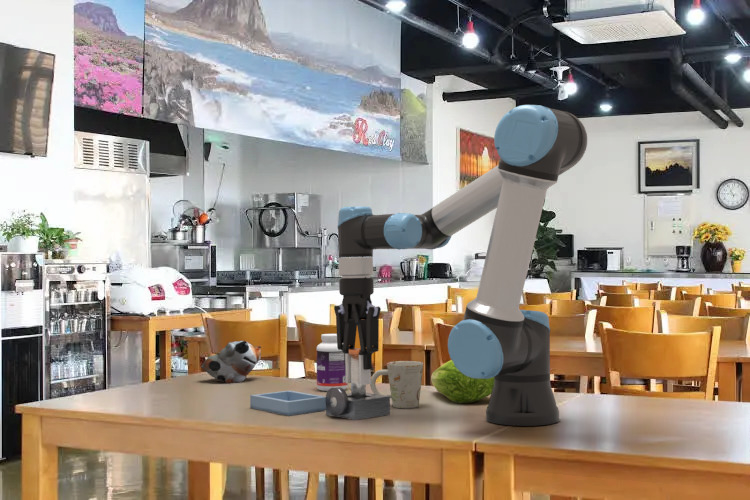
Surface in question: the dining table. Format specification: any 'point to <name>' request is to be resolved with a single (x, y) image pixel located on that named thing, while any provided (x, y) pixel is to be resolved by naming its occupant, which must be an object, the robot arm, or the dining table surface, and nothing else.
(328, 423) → the dining table surface
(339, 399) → the block
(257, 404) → the tray
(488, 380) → the lettuce
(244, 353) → the lucky cat figurine
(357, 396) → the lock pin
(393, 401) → the mug
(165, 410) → the dining table surface
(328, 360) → the pill bottle
